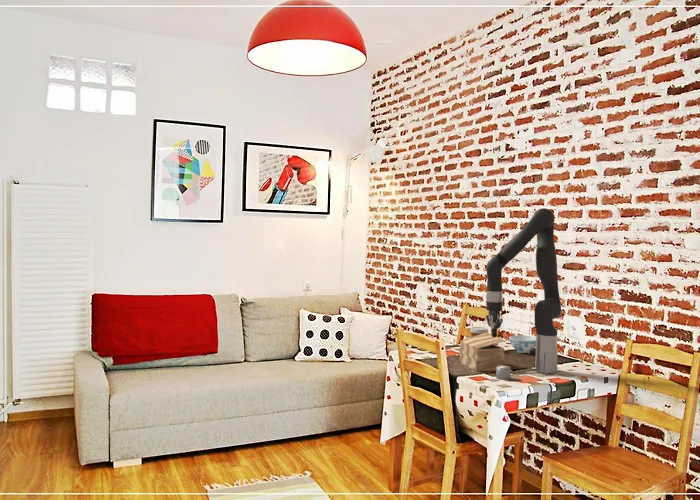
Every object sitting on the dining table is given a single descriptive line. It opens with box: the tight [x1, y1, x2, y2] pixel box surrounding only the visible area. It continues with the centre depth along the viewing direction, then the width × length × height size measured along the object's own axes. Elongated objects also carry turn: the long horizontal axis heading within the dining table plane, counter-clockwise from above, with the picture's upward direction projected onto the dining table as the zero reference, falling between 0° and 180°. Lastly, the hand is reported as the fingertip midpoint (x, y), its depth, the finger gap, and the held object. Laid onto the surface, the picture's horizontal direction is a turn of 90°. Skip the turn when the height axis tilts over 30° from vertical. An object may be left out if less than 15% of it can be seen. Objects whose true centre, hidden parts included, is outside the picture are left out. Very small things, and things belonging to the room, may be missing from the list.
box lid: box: [459, 333, 504, 349], centre depth 288 cm, size 18×14×1 cm
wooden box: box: [459, 341, 505, 372], centre depth 288 cm, size 18×14×10 cm
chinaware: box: [509, 334, 536, 354], centre depth 321 cm, size 15×15×8 cm
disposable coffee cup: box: [469, 326, 489, 338], centre depth 324 cm, size 10×10×12 cm
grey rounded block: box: [495, 365, 512, 381], centre depth 266 cm, size 6×6×5 cm
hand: (494, 336), depth 289 cm, fingers closed
